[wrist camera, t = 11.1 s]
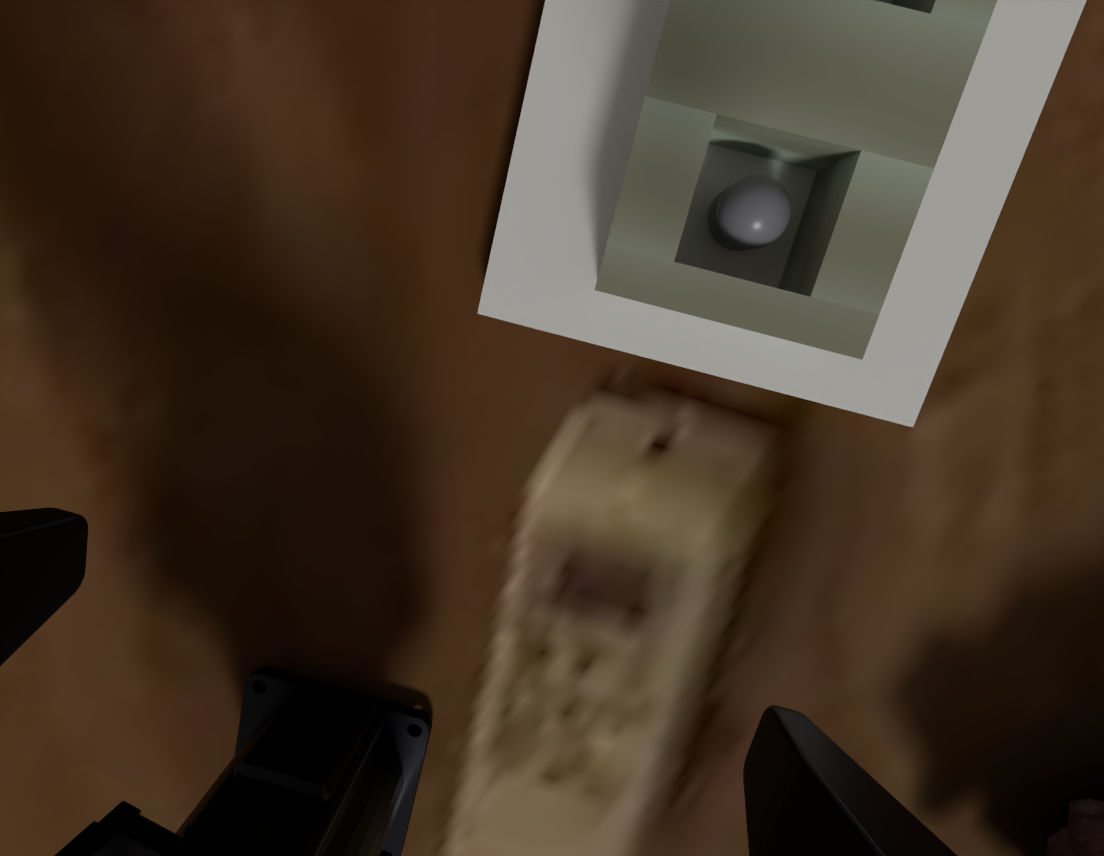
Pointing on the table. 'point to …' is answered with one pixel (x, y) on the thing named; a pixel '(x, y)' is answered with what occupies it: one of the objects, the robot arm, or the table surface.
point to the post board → (596, 165)
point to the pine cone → (1080, 831)
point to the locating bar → (794, 151)
